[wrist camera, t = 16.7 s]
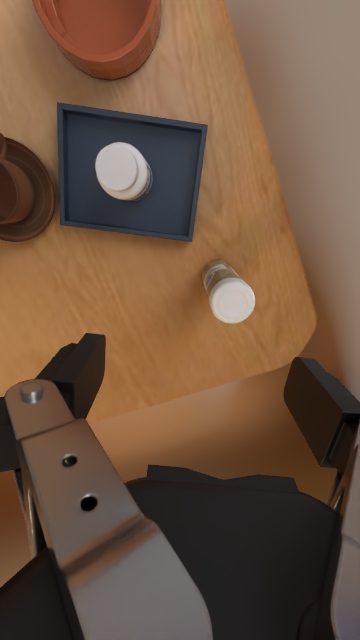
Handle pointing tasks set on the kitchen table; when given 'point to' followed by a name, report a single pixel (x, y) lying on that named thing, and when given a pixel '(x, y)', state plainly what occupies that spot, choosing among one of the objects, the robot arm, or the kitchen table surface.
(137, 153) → the pill bottle
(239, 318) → the sprinkles bottle
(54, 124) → the kitchen table surface
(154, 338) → the kitchen table surface
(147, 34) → the bowl
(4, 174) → the cup and saucer
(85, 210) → the tray
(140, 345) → the kitchen table surface
